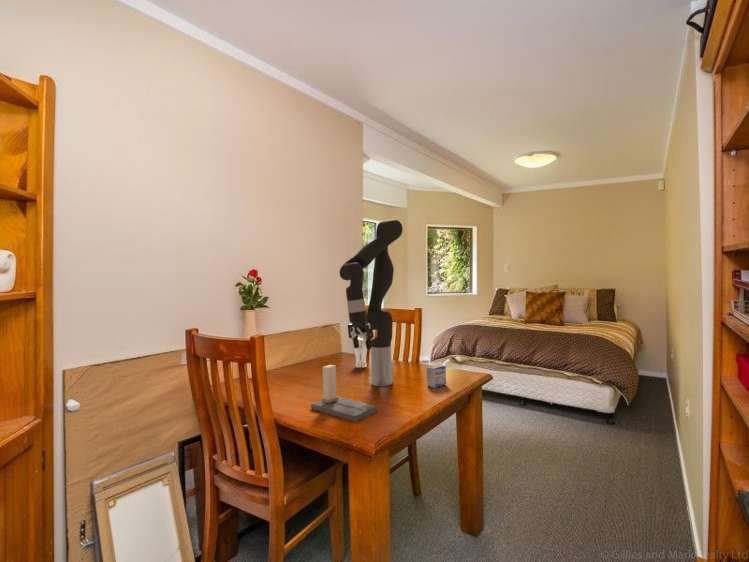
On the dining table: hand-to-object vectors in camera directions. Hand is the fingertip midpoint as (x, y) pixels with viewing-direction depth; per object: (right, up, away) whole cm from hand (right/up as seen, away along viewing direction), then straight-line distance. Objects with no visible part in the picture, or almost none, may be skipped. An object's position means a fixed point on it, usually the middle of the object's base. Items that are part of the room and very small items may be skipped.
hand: (362, 348), depth 164 cm
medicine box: (+32, -18, +7) cm, 37 cm away
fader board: (-6, -19, -21) cm, 29 cm away
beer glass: (-2, -18, +47) cm, 50 cm away
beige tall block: (-12, -17, -17) cm, 26 cm away
